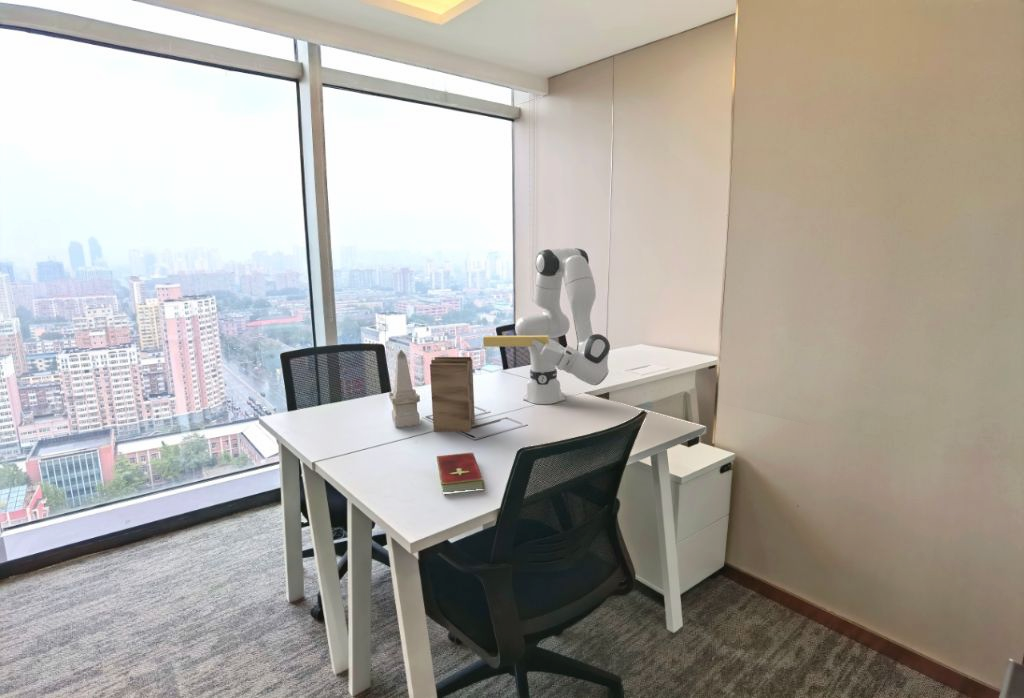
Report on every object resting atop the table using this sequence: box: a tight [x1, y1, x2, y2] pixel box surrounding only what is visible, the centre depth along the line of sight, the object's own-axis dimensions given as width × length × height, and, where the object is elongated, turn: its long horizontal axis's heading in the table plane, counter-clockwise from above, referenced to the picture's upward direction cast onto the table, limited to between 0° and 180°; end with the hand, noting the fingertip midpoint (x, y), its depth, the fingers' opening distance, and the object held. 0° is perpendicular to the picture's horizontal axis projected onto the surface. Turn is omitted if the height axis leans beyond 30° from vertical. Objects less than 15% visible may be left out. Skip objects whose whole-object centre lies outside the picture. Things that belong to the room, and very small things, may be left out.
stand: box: [429, 356, 476, 433], centre depth 201 cm, size 10×14×27 cm
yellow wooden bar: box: [482, 335, 549, 348], centre depth 193 cm, size 4×24×4 cm, turn 83°
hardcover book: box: [436, 452, 485, 493], centre depth 157 cm, size 12×21×4 cm, turn 12°
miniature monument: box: [388, 349, 421, 428], centre depth 207 cm, size 10×10×30 cm
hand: (532, 339), depth 192 cm, fingers closed on yellow wooden bar, 3 cm apart
